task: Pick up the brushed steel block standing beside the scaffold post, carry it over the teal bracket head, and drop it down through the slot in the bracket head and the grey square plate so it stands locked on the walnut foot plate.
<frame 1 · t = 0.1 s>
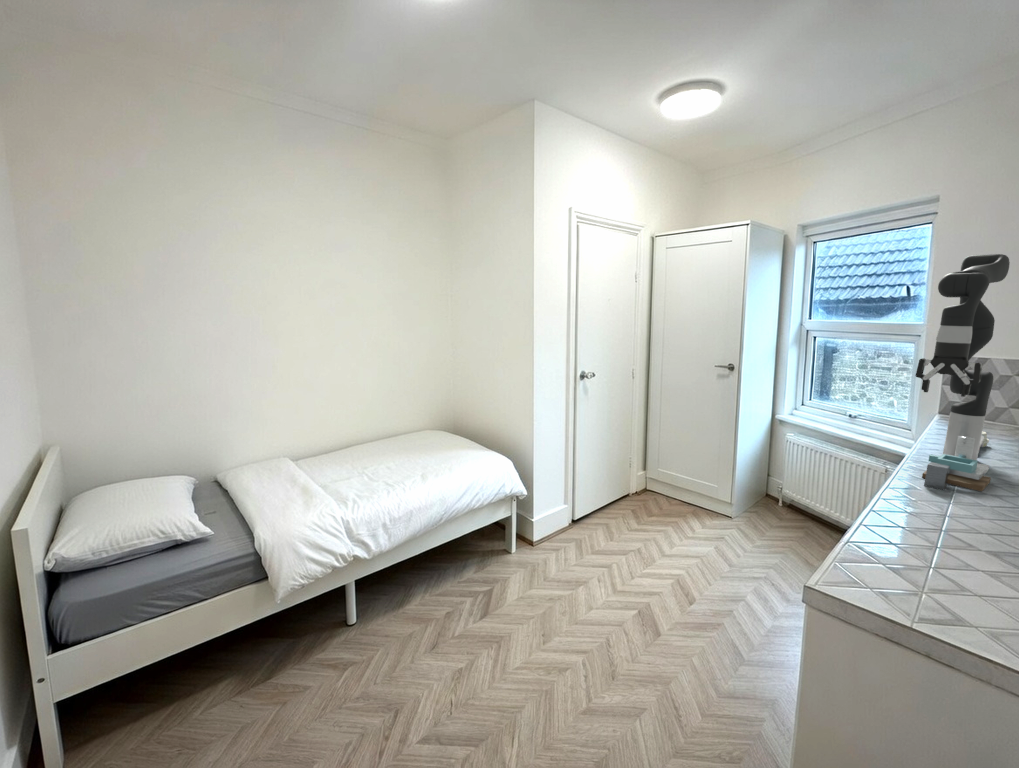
hand: (944, 394, 141), 29 cm above the counter, tool pointing down, fingers open, 8 cm apart
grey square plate: (960, 457, 149), on the foot plate, point 8 cm above the counter
bracket head: (951, 462, 148), point 6 cm above the counter
foot plate: (955, 479, 150), on the counter
brushed steel block: (935, 486, 143), on the counter
toothbrush head: (974, 450, 184), on the counter
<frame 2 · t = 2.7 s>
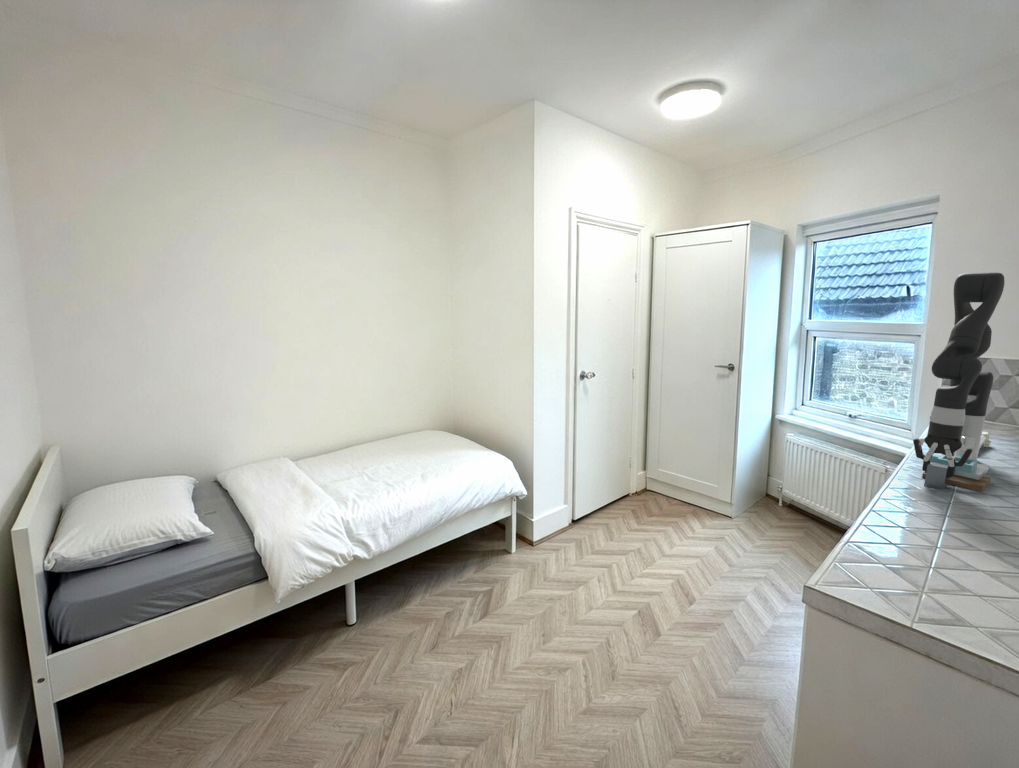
hand: (937, 474, 143), 4 cm above the counter, tool pointing down, fingers closed on brushed steel block, 4 cm apart
brushed steel block: (935, 486, 143), on the counter, touching gripper
everything else where it was.
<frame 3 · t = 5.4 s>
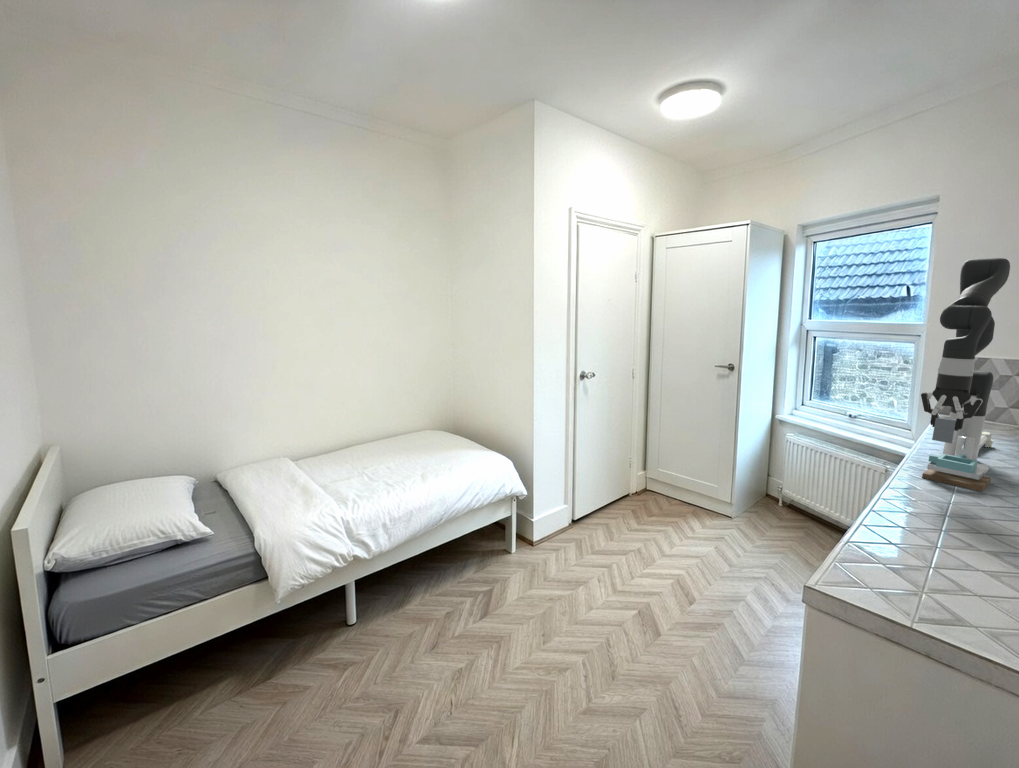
hand: (945, 428, 140), 19 cm above the counter, tool pointing down, fingers closed on brushed steel block, 4 cm apart
brushed steel block: (943, 440, 141), point 15 cm above the counter, touching gripper
everything else where it was.
when the fingers open (12 cm above the counter, at t = 8.4 s): brushed steel block drops 7 cm, resting on foot plate.
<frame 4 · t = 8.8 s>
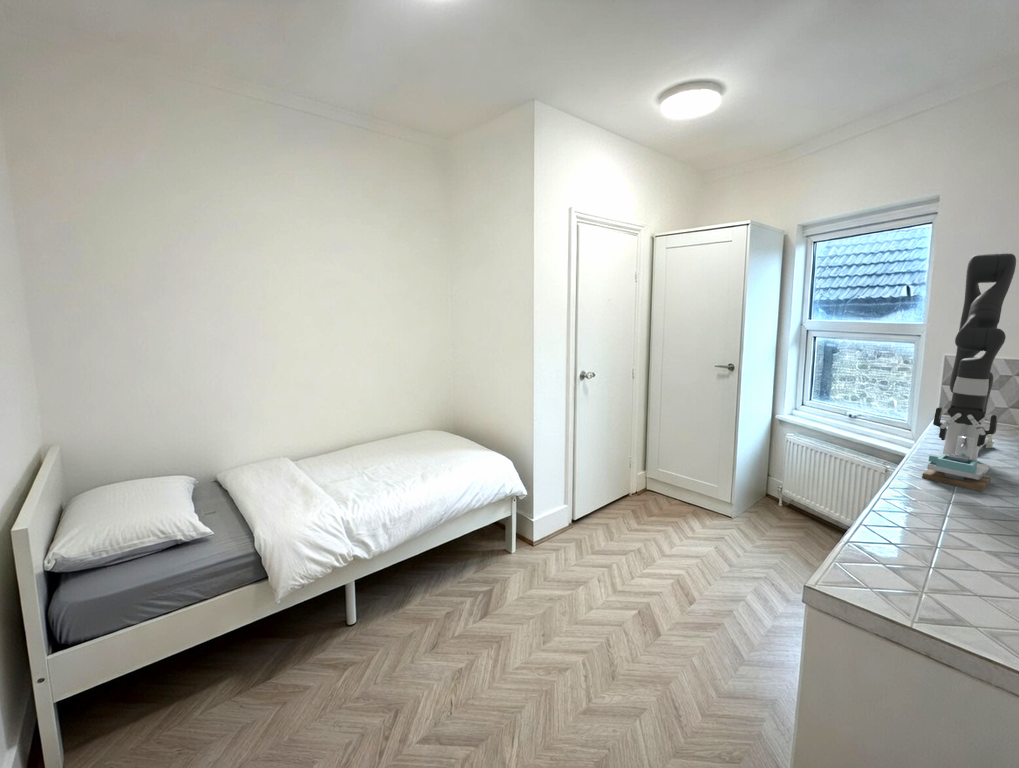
hand: (960, 442, 146), 13 cm above the counter, tool pointing down, fingers open, 8 cm apart
brushed steel block: (955, 477, 147), point 1 cm above the counter, touching foot plate
everything else where it was.
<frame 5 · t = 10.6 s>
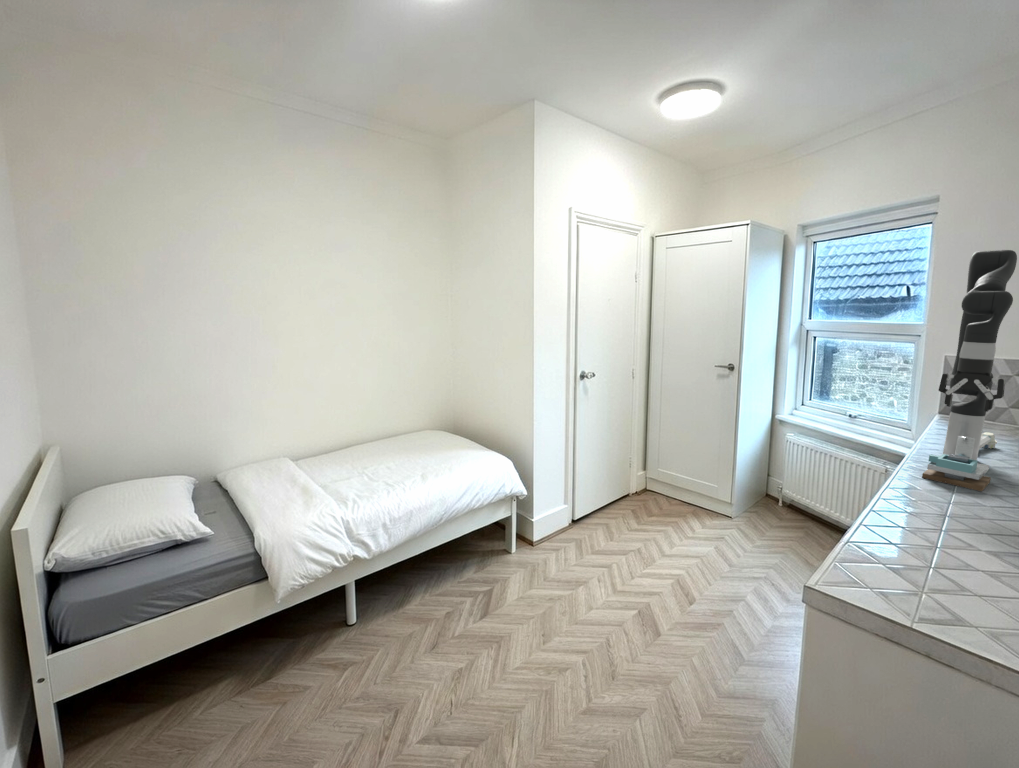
hand: (967, 408, 144), 24 cm above the counter, tool pointing down, fingers open, 8 cm apart
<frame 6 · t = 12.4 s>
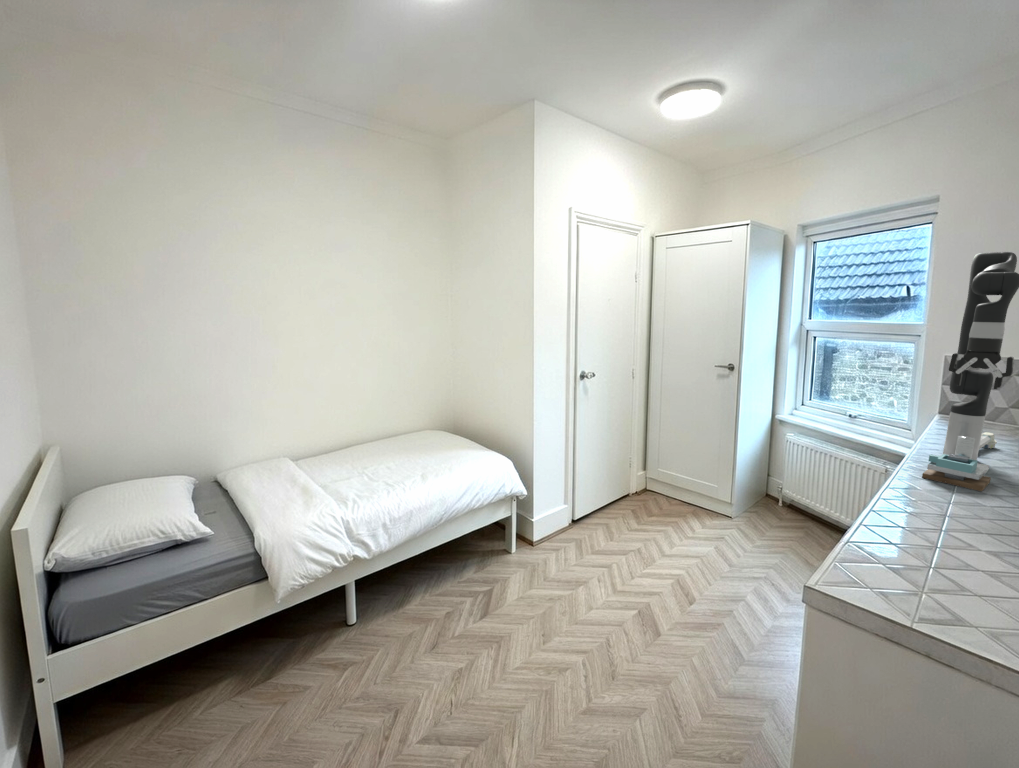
hand: (976, 387, 148), 30 cm above the counter, tool pointing down, fingers open, 8 cm apart
at the end: brushed steel block 0.2 cm from the target spot on the foot plate, point 1.5 cm above the foot plate's base; brushed steel block tilted 0°; the gripper is holding nothing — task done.
